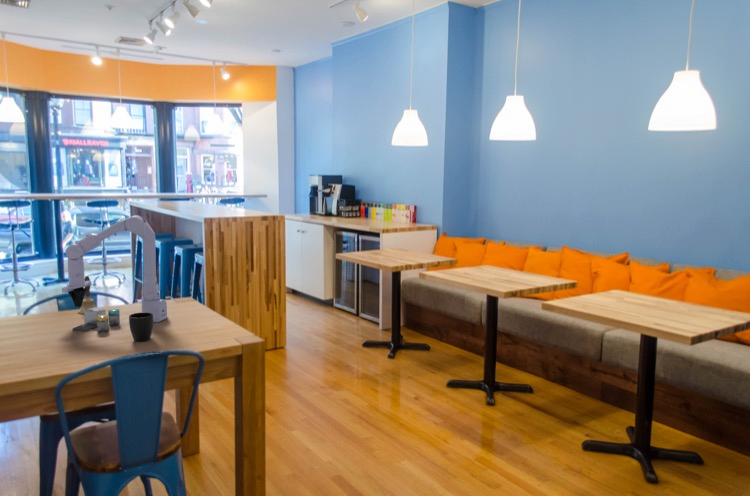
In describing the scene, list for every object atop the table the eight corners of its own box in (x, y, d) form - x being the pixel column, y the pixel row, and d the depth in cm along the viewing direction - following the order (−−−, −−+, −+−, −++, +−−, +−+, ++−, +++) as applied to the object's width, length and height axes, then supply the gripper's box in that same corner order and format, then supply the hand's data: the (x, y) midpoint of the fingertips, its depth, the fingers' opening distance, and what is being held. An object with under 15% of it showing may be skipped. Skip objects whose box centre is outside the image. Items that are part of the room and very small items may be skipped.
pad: (96, 327, 221) (96, 325, 220) (86, 331, 215) (86, 329, 215) (83, 326, 222) (83, 324, 221) (72, 330, 216) (72, 328, 216)
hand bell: (102, 309, 247) (101, 274, 245) (91, 314, 239) (89, 278, 236) (85, 309, 248) (83, 274, 245) (73, 313, 240) (71, 277, 237)
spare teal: (122, 323, 226) (121, 309, 225) (115, 326, 222) (115, 312, 221) (113, 323, 227) (112, 308, 226) (106, 325, 223) (105, 311, 222)
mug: (159, 333, 214) (158, 309, 213) (150, 343, 202) (149, 317, 201) (137, 333, 213) (136, 309, 212) (126, 343, 202) (125, 317, 200)
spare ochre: (111, 330, 217) (110, 315, 216) (104, 333, 213) (103, 318, 212) (101, 329, 218) (101, 314, 217) (94, 332, 214) (94, 317, 213)
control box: (106, 323, 226) (105, 308, 225) (98, 326, 221) (97, 311, 220) (92, 322, 227) (91, 307, 226) (84, 325, 222) (83, 310, 222)
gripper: (80, 269, 230) (82, 301, 232) (54, 276, 216) (56, 310, 218) (95, 270, 229) (97, 302, 231) (70, 277, 215) (72, 311, 217)
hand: (78, 306), depth 225 cm, fingers closed
